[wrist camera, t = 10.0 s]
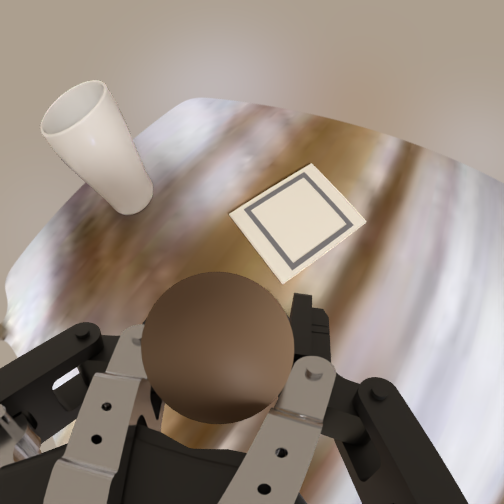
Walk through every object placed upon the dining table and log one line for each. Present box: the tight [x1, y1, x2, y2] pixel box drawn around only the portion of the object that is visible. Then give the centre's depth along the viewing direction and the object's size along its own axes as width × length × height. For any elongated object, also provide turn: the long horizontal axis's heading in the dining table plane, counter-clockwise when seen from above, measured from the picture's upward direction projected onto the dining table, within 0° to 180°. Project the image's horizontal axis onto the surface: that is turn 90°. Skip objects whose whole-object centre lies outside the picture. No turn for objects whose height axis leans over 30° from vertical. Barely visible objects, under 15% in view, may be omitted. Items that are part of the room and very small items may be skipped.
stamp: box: [141, 272, 294, 424], centre depth 11 cm, size 5×5×10 cm
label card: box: [229, 163, 367, 285], centre depth 30 cm, size 11×9×1 cm
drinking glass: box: [40, 80, 153, 215], centre depth 25 cm, size 7×7×15 cm
